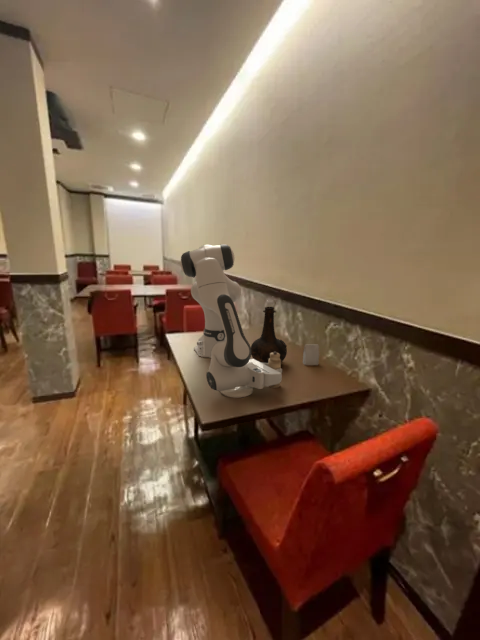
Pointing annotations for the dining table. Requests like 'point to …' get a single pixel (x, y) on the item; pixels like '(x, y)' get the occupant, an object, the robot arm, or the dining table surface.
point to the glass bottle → (268, 340)
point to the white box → (311, 354)
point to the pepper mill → (274, 364)
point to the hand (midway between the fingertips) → (276, 367)
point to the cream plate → (238, 392)
